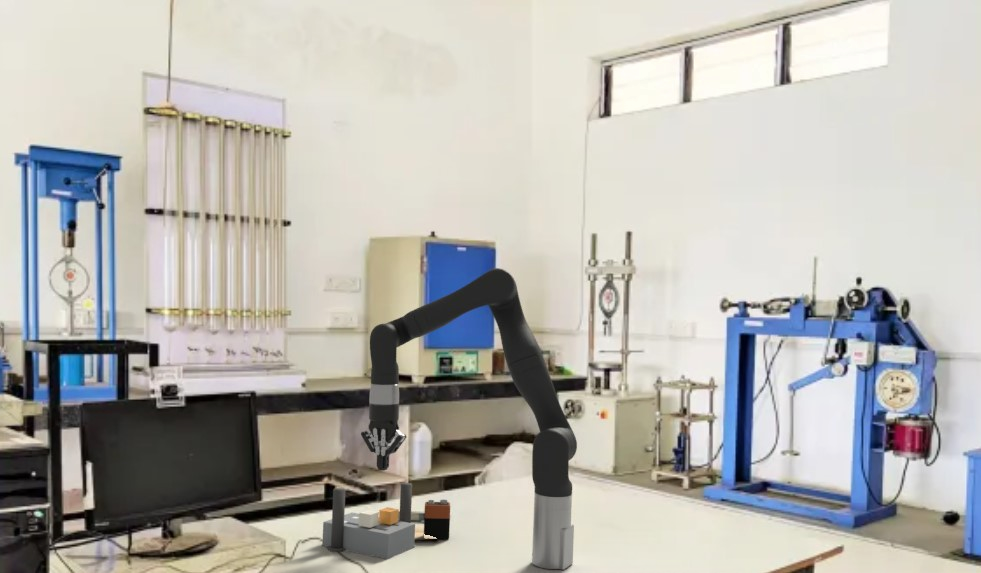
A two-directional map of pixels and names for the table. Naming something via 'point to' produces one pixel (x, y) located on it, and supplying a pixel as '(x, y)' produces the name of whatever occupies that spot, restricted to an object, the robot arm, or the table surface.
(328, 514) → the table surface
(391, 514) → the toggle orange
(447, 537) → the battery
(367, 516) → the white ridged block
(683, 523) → the table surface
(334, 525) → the post
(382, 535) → the box
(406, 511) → the post
